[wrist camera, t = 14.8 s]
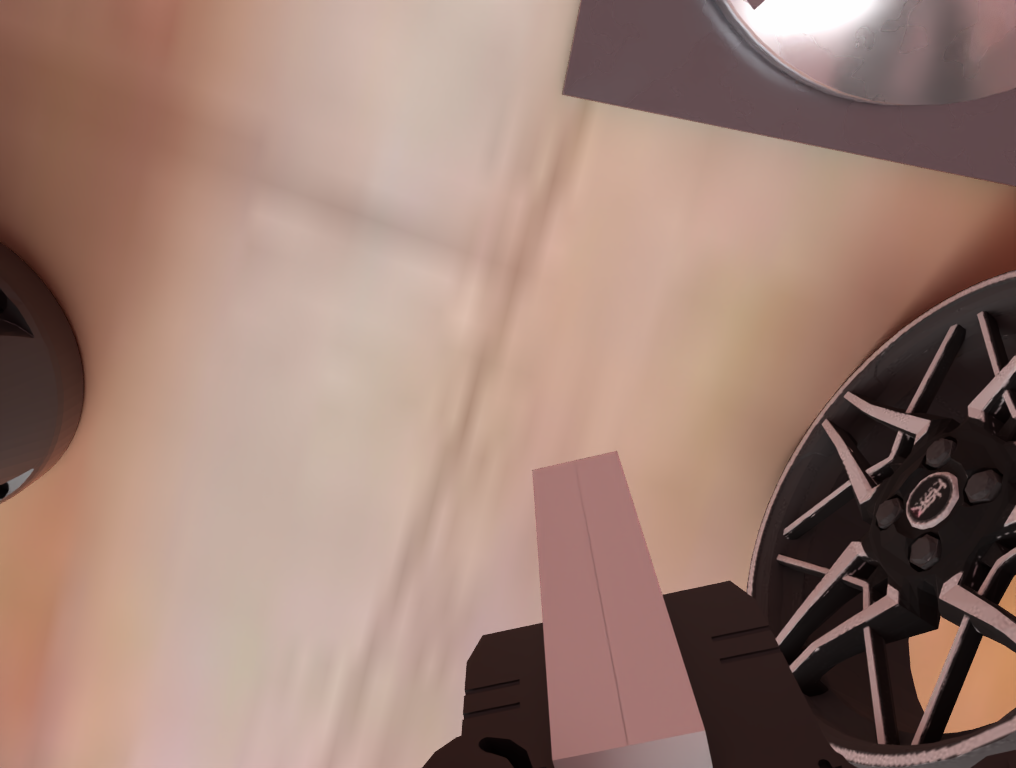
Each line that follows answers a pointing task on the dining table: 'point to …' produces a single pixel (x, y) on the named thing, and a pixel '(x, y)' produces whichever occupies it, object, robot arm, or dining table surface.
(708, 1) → the turntable base
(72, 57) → the dining table surface
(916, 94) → the turntable
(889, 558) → the wheel rim
